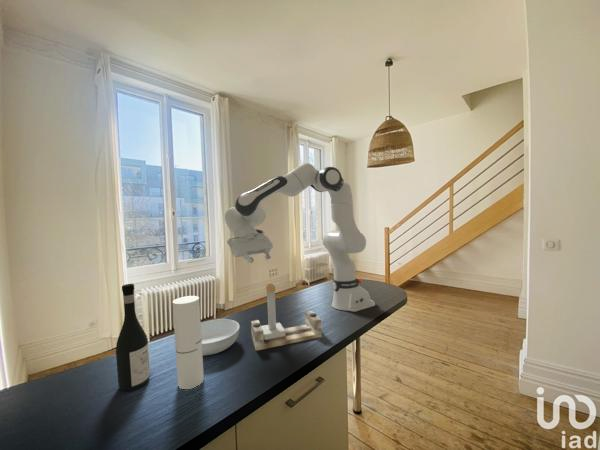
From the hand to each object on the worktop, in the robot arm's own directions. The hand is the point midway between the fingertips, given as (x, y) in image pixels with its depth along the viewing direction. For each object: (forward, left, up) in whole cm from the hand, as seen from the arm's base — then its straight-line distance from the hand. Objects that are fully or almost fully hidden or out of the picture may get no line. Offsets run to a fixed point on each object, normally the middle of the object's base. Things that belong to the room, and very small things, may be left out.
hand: (260, 260), depth 110 cm
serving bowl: (+21, +8, -30) cm, 38 cm away
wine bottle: (+43, +21, -30) cm, 57 cm away
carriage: (-1, +12, -27) cm, 30 cm away
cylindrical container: (+27, +27, -30) cm, 49 cm away
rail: (-7, +12, -30) cm, 33 cm away
